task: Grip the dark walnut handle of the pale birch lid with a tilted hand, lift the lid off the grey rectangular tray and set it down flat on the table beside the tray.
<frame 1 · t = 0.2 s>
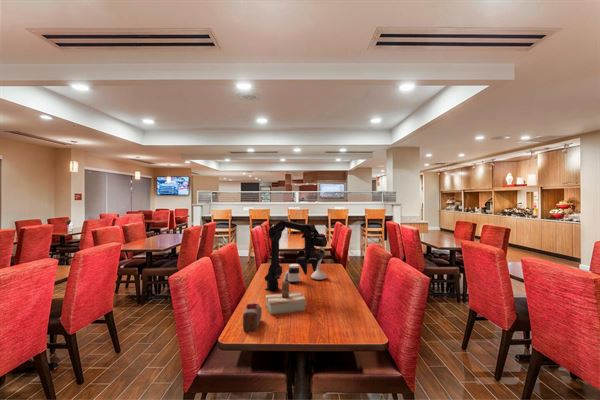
hand: (310, 272, 177), 14 cm above the table, tool pointing down, fingers open, 9 cm apart
flower in vase: (319, 278, 219), on the table
spread jar: (291, 281, 211), on the table
lid: (285, 299, 161), point 5 cm above the table, touching grey rectangular tray
food item: (252, 325, 141), on the table
grey rectangular tray: (285, 308, 161), on the table
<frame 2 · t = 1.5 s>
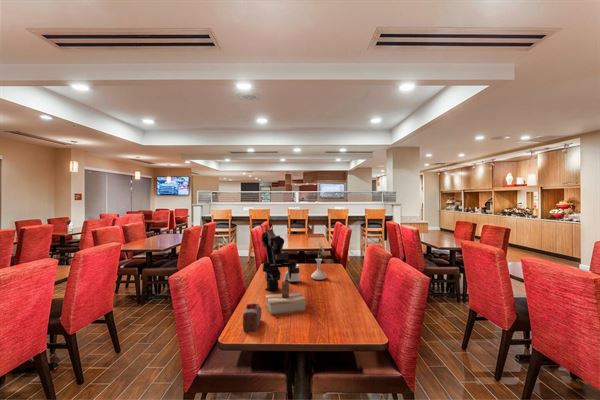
hand: (282, 279, 168), 13 cm above the table, tool tilted 45°, fingers open, 9 cm apart
nothing on the table moved.
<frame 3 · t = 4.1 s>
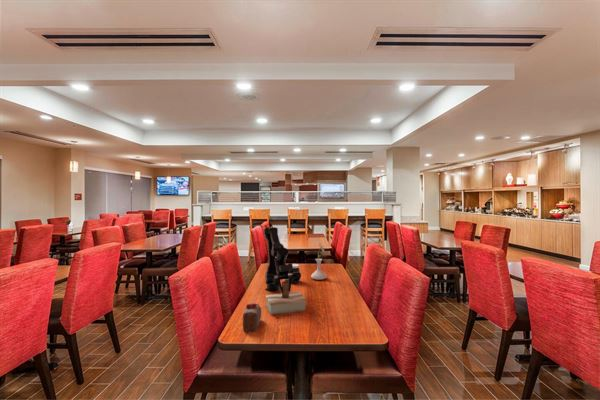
hand: (286, 292, 160), 9 cm above the table, tool tilted 45°, fingers closed on lid, 4 cm apart
lid: (285, 299, 161), point 5 cm above the table, touching gripper, grey rectangular tray
everything else where it was.
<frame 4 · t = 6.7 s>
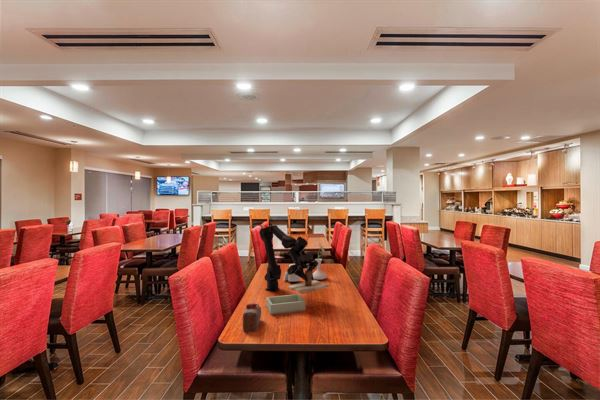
hand: (310, 280, 166), 13 cm above the table, tool tilted 45°, fingers closed on lid, 4 cm apart
lid: (308, 287, 167), point 9 cm above the table, touching gripper
everything else where it was.
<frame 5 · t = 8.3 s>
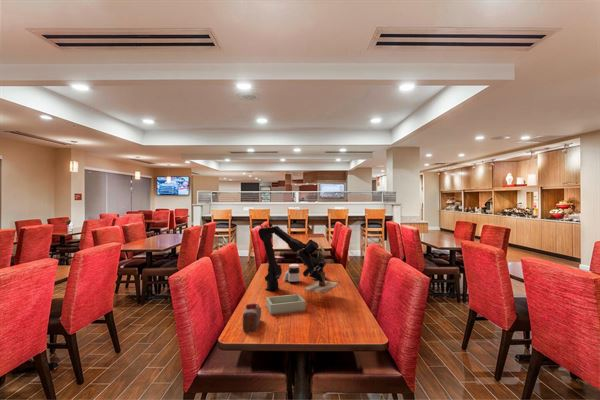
hand: (324, 280, 175), 11 cm above the table, tool tilted 45°, fingers closed on lid, 4 cm apart
lid: (321, 287, 176), point 7 cm above the table, touching gripper
everything else where it was.
when the fingers open (6 cm above the table, at t = 9.5 s): lid drops 3 cm, on the table.
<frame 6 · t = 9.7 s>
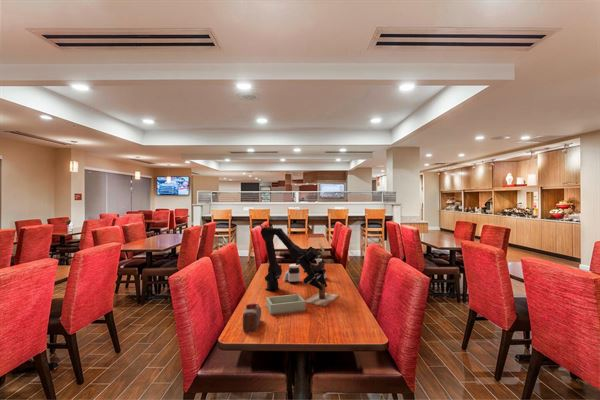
hand: (324, 288, 175), 7 cm above the table, tool tilted 45°, fingers open, 6 cm apart
lid: (322, 300, 176), on the table
everything else where it was.
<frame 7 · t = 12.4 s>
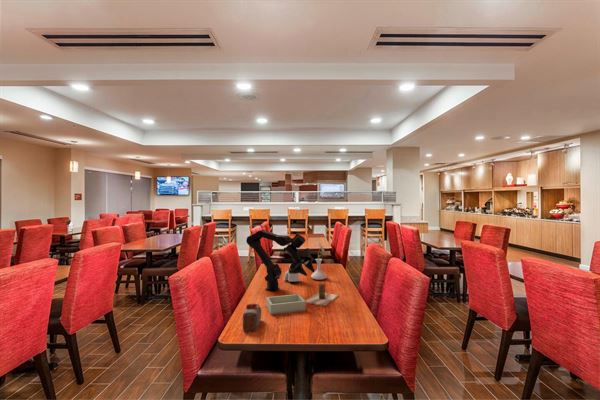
hand: (310, 273, 179), 14 cm above the table, tool tilted 45°, fingers open, 9 cm apart
nothing on the table moved.
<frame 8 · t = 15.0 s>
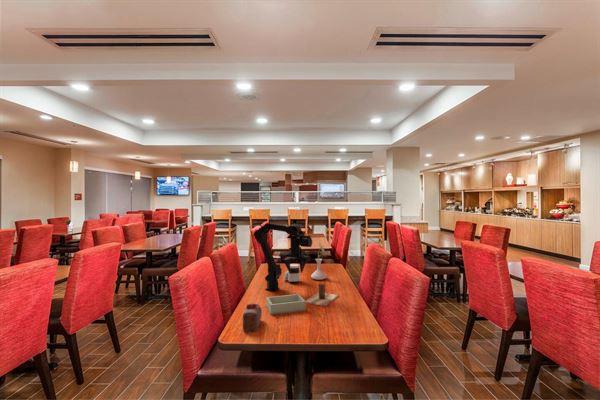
hand: (295, 271, 186), 13 cm above the table, tool pointing down, fingers open, 9 cm apart
nothing on the table moved.
at the end: lid inside the target area (0.1 cm from its centre), on the table; lid tilted 0°; the gripper is holding nothing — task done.
